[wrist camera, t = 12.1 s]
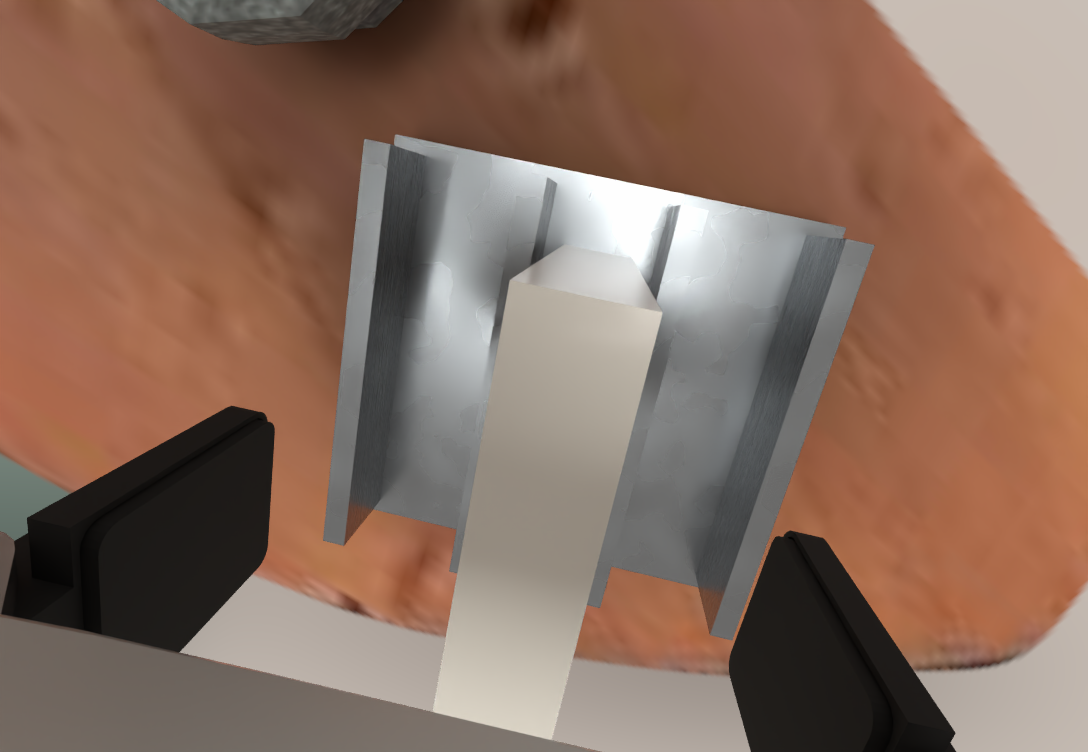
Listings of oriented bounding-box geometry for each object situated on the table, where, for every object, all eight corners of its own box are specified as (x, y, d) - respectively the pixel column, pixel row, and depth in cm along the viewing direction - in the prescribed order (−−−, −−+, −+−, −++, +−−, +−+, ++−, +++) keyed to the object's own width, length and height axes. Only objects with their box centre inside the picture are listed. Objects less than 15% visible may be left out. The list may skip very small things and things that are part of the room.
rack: (366, 488, 26) (311, 549, 21) (409, 139, 22) (353, 118, 17) (714, 571, 25) (739, 654, 20) (829, 226, 21) (895, 230, 16)
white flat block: (515, 488, 24) (426, 747, 12) (564, 244, 21) (509, 280, 9) (574, 502, 23) (542, 777, 12) (632, 258, 21) (662, 312, 9)
